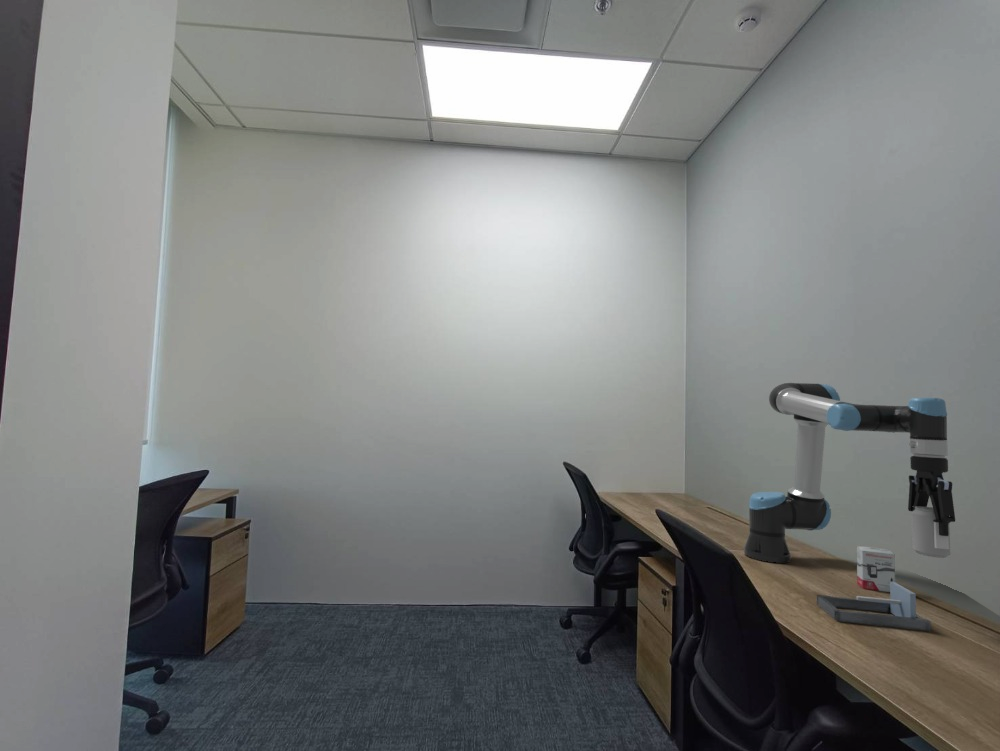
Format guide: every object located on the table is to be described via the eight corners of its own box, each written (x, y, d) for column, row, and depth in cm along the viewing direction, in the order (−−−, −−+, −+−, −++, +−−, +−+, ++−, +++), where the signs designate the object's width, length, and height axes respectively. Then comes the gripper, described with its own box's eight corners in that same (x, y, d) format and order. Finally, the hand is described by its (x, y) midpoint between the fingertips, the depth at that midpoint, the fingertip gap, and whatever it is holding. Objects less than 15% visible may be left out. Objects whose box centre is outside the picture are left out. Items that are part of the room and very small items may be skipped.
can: (957, 560, 125) (956, 511, 126) (923, 557, 127) (922, 509, 128) (938, 552, 132) (937, 506, 133) (906, 549, 134) (905, 504, 135)
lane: (816, 604, 138) (816, 594, 138) (902, 613, 134) (902, 603, 134) (836, 621, 127) (836, 611, 127) (930, 631, 123) (930, 621, 123)
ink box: (861, 588, 152) (861, 549, 153) (856, 583, 157) (856, 545, 158) (896, 593, 149) (895, 553, 150) (889, 588, 154) (889, 549, 155)
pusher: (848, 607, 135) (848, 577, 136) (895, 612, 133) (895, 582, 134) (866, 621, 127) (865, 589, 127) (916, 626, 125) (915, 594, 125)
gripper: (890, 452, 142) (892, 534, 140) (937, 458, 122) (940, 553, 120) (921, 454, 141) (923, 536, 139) (973, 460, 121) (976, 556, 119)
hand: (931, 544), depth 130 cm, fingers closed on can, 7 cm apart
